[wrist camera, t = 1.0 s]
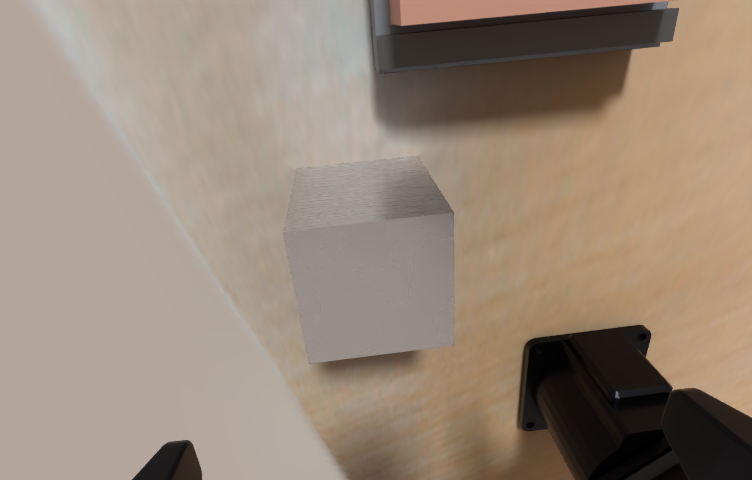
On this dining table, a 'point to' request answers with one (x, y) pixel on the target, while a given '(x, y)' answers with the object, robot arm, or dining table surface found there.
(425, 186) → the block
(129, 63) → the dining table surface
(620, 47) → the frame
